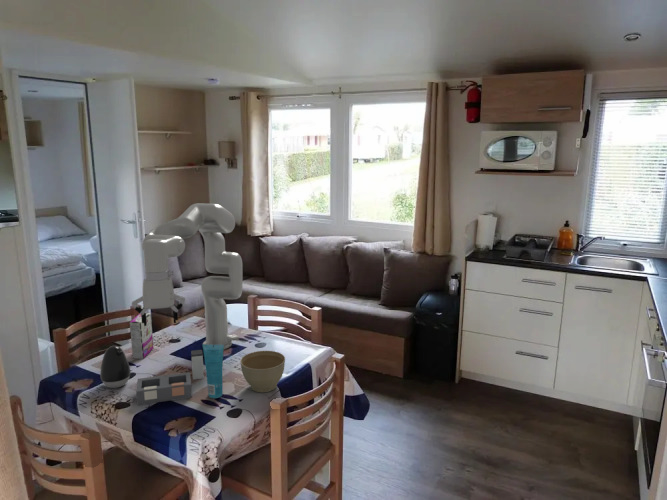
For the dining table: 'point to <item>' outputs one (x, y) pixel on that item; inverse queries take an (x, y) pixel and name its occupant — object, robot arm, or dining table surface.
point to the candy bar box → (141, 337)
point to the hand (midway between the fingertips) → (160, 323)
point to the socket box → (163, 388)
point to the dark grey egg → (115, 368)
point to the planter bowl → (263, 369)
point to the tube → (214, 369)
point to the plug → (197, 364)
